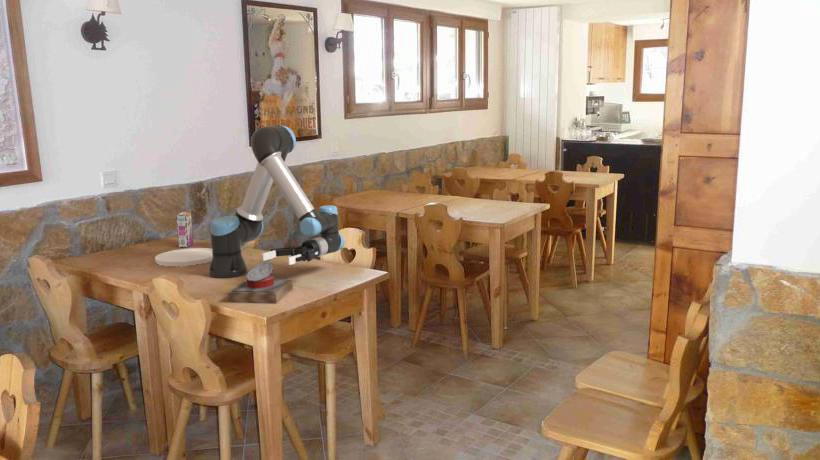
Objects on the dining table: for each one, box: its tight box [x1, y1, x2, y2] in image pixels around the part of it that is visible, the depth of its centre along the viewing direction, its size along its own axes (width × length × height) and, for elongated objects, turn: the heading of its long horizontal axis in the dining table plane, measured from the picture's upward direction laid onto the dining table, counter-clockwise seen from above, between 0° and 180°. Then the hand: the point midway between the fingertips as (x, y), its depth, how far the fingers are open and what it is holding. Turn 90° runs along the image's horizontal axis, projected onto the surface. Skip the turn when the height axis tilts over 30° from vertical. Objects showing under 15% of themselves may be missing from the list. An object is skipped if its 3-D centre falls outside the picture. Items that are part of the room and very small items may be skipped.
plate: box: [154, 247, 213, 268], centre depth 314 cm, size 28×28×2 cm
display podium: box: [227, 278, 294, 304], centre depth 253 cm, size 18×18×4 cm
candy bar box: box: [176, 211, 194, 249], centre depth 342 cm, size 11×5×16 cm, turn 5°
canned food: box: [245, 260, 275, 289], centre depth 252 cm, size 11×10×10 cm
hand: (275, 259), depth 257 cm, fingers open, 13 cm apart
